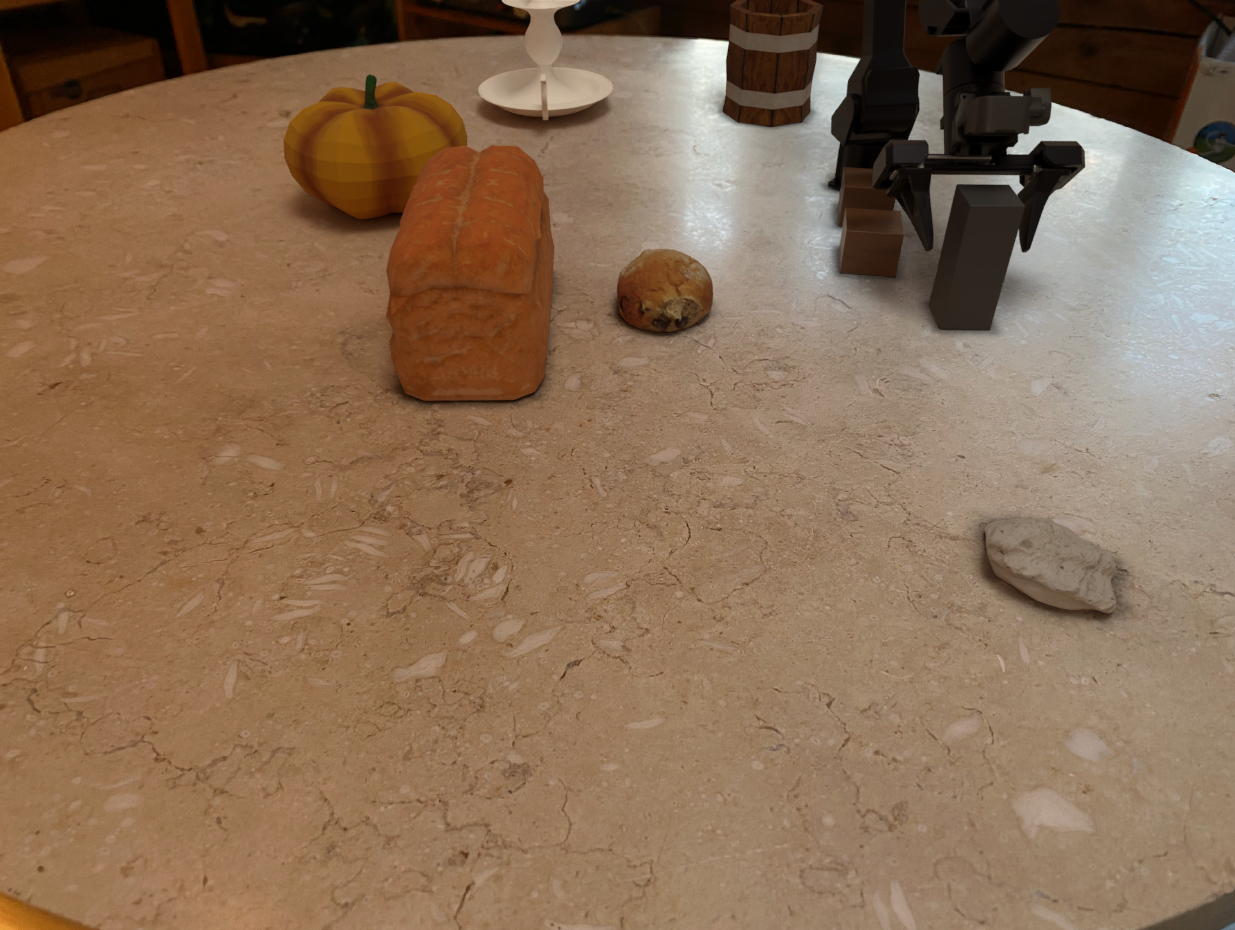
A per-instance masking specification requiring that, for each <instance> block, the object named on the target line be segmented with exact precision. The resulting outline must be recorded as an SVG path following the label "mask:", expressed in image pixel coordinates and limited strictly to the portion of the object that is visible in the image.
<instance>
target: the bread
mask: <svg viewBox="0 0 1235 930" xmlns="http://www.w3.org/2000/svg"><path fill="white" fill-rule="evenodd" d="M544 188H545V187H544V176H543V174H542V171H541V170H540V168H539V166H538V164H537V162H536V160H535V159H534V158H533V157H531V156H530V155H529V154H528V153H527V152H526V151H524V150H523V149H521V148H520V147H519V146H518V145H489V146H488V147H486V148H485V149H482V150H480V151H478V150H476V149H474V148H471V147H470V146H468V145H467V146H457V147H448V148H444V149H443V150H442V151H440V152H439V153H437V154H436V155H434V156H433V157H431V158H430V159H428V161H427V162H426V164H425V165H424V167H423V169H422V170H421V172H420V174H419V176H418V178H417V183H416V184H415V185H414V187H413V189H412V192H411V195H410V198H409V200H408V202H407V204H406V207H405V210H404V212H403V213H402V215H401V218H400V220H399V229H398V231H397V233H396V236H395V238H394V240H393V243H392V245H391V247H390V249H389V255H388V260H387V265H386V270H385V271H386V278H387V283H388V288H389V295H388V303H387V308H386V313H385V317H386V320H387V321H388V323H389V325H390V327H391V329H392V330H393V331H392V333H391V335H390V339H389V350H390V352H389V353H390V357H391V361H392V363H393V366H394V369H395V372H396V374H397V377H398V379H399V382H400V384H401V387H402V389H403V391H404V393H405V394H406V395H408V396H411V397H413V398H416V399H418V400H422V401H515V400H517V399H521V398H522V397H525V396H528V395H529V394H532V393H535V392H536V391H537V389H538V388H539V387H540V385H541V383H542V381H543V380H544V378H545V376H546V364H547V363H546V362H547V351H548V340H549V330H550V321H551V320H550V319H551V311H552V298H553V297H552V296H553V294H552V293H553V283H554V282H553V280H554V263H555V243H554V238H553V235H552V227H551V226H552V225H551V212H550V211H551V210H550V198H549V197H548V196H547V194H546V192H545V190H544Z"/></svg>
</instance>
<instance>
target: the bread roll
mask: <svg viewBox="0 0 1235 930" xmlns="http://www.w3.org/2000/svg"><path fill="white" fill-rule="evenodd" d="M617 279H618V280H617V285H616V299H617V308H618V313H619V315H620V316H621V317H622V318H623V320H624V321H625V322H627V324H628V325H631V326H632V327H634V328H637V329H642V330H646V331H650V332H651V331H652V332H656V333H661V332H665V333H666V332H667V333H671V332H676V331H681V330H684V329H687V328H690V327H692V326H693V325H695V324H696V323H698V322H699V321H701V320H703V319H704V318H705V317H706V316H707V314H709V312H711V310H712V306H713V301H714V283H713V280H712V277H711V275H710V273H709V271H708V269H707V268H706V267H705V265H703V264H702V263H701V262H700V261H699V260H697V259H696V258H694V257H692V256H691V255H689V254H686V253H685V252H683V251H681V250H680V251H679V250H676V249H670V248H655V249H652V248H651V249H643V250H642V252H641V253H640V255H638V256H636V257H635V258H634V259H633V260H632V261H630V263H628V264H627V265H626V266H624V267H623V269H622V270H621V271H620V272H619V275H618V278H617Z"/></svg>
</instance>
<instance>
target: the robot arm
mask: <svg viewBox="0 0 1235 930" xmlns="http://www.w3.org/2000/svg"><path fill="white" fill-rule="evenodd" d="M917 10H918V11H917V13H918V18H919V22H920V24H921V25H922V28H923V30H924V32H925V34H926V35H927V36H930V37H933V38H934V37H935V38H941V37H943V38H945V37H957V38H955V39H953V41H951V43H950V44H949V45H948V46H947V47H946V48H945V50H943V52H942V54H941V58H940V59H939V60H938V61H937V64H936V66H935V68H934V70H935V71H934V73H935V74H936V75H940V76H942V116H941V118H940V119H939V130H940V131H943V153H930V150H929V149H930V147H929V143H928V142H927V141H926V139H909V138H910V136H911V135H912V132H913V128H914V126H915V124H916V121H917V118H918V116H919V113H920V110H921V108H920V96H919V86H920V85H919V84H920V77H921V74H920V71H919V68H918V66H913V65H911V62H910V61H909V59H908V57H907V55H906V53H905V37H906V36H905V35H906V17H907V16H906V15H907V0H863V12H862V13H863V14H862V16H863V17H862V18H863V19H862V43H861V46H862V47H861V57H860V59H859V61H858V62H857V64H856V66H855V67H854V69H853V71H852V73H851V74H850V76H849V77H848V80H847V84H846V94H845V95H846V96H845V97H844V98H843V99H842V101H841V102H840V103H839V105H838V107H837V108H836V109H835V110H834V111H833V113H832V114H831V117H830V135H832V137H833V138H835V139H836V141H837V142H839V144H838V145H839V146H838V152H837V159H836V165H835V166H836V167H835V172H834V178H832V179H830V180H829V181H828V182H827V187H829V188H833V189H836V190H839V191H840V189H841V182H842V176H843V169H844V167H849V168H866V169H873V188H875V189H877V190H886V196H887V197H894V198H896V200H895V201H897V203H898V205H899V206H900V207H901V208H902V210H903V212H904V213H905V214H906V216H907V218H908V219H909V221H910V223H911V225H912V227H913V229H914V231H915V233H916V235H917V237H918V239H919V241H920V243H921V245H922V247H923V249H924V251H925V252H928V253H929V252H932V250H933V249H934V235H935V234H934V223H933V222H934V221H933V211H932V202H931V184H932V183H931V181H932V176H1019V177H1018V179H1019V184H1020V185H1021V186H1022V187H1023V188H1021V190H1019V192H1018V193H1016V195H1017V196H1018V197H1019V199H1020V200H1021V201H1022V203H1023V204H1024V205H1025V208H1024V212H1023V216H1022V219H1021V223H1020V226H1019V230H1018V240H1019V245H1020V249H1021V251H1020V252H1021V253H1023V254H1025V253H1028V252H1029V251H1030V249H1031V248H1032V244H1033V241H1034V239H1035V235H1036V233H1037V230H1038V228H1039V227H1038V226H1039V225H1040V224H1039V223H1040V221H1041V217H1042V214H1043V213H1044V212H1043V211H1044V210H1045V206H1046V204H1047V202H1048V200H1049V198H1050V196H1052V195H1053V194H1054V193H1055V192H1056V191H1058V190H1062V189H1063V188H1064V187H1065V186H1066V185H1068V184H1069V183H1070V182H1071V181H1072V180H1073V179H1074V178H1075V177H1076V176H1077V175H1078V174H1079V173H1080V172H1082V171H1083V170H1084V169H1085V168H1086V155H1085V154H1086V151H1085V149H1084V148H1083V146H1082V145H1081V144H1080V143H1079V142H1078V141H1077V140H1040V141H1039V142H1038V143H1037V145H1036V146H1035V147H1033V149H1032V150H1031V151H1030V152H1029V153H1028V154H1027V153H1026V154H1025V153H1024V154H1023V153H1022V154H1019V153H1016V154H1015V153H1012V154H1011V153H1008V148H1014V147H1015V146H1016V145H1017V144H1018V143H1019V135H1021V134H1022V135H1029V134H1030V127H1041V126H1045V125H1047V124H1048V123H1049V122H1050V119H1051V117H1052V107H1053V101H1052V93H1051V92H1052V91H1051V87H1031V88H1029V89H1026V90H1024V91H1023V93H1022V95H1011V91H1006V83H1005V82H1006V80H1005V79H1006V77H1005V75H1006V74H1005V72H1008V71H1011V70H1013V69H1014V68H1016V67H1018V65H1020V64H1021V63H1022V62H1023V61H1024V60H1025V59H1026V58H1027V57H1028V56H1029V55H1030V54H1031V53H1032V52H1033V51H1034V50H1035V49H1036V48H1037V47H1038V46H1039V45H1040V44H1041V43H1042V42H1043V41H1044V40H1045V39H1046V38H1047V37H1048V36H1049V35H1050V34H1051V33H1052V32H1053V31H1054V30H1055V29H1056V27H1057V25H1058V24H1059V20H1060V17H1061V6H1060V2H1059V0H918V9H917Z"/></svg>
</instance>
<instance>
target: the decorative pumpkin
mask: <svg viewBox="0 0 1235 930" xmlns="http://www.w3.org/2000/svg"><path fill="white" fill-rule="evenodd" d="M377 83H378V79H377V76H375V75H374V74H373V75H372V74H367V75H366V77H365V84H364V87H365V88H364V90H362V89H358V88H354V87H347V86H338V87H331V88H330V89H329V90H328V92H326V94H324V95H323V96H322V98H321V99H319V101H318V102H316V103H314V104H311V105H309V106H307V107H304V108H302V109H301V110H300V111H299V112H298V113H297V114H296V115H295V116H294V117H293V118H292V119H291V120H290V122H289V123H288V126H287V129H286V131H285V134H284V137H283V139H282V140H283V157H284V160H285V163H286V166H287V168H288V170H289V173H290V175H291V177H292V178H293V179H294V180H295V182H296V183H297V184H298V185H299V186H300V188H302V190H303V191H304V192H305V193H307V194H308V195H310V196H312V197H313V198H314V199H317V200H318V201H320V202H322V203H324V204H325V205H327V206H330V207H336V208H337V209H339V210H340V211H342V212H344V213H345V214H347V215H349V216H351V217H353V218H356V219H358V220H369V219H370V220H371V219H376V218H380V217H381V218H382V217H383V216H385V215H389V214H392V213H393V214H403V212H404V210H405V207H406V204H407V202H408V200H409V198H410V195H411V192H412V189H413V187H414V185H415V184H416V183H417V178H418V176H419V174H420V172H421V170H422V169H423V167H424V165H425V164H426V162H427V161H428V159H430V158H431V157H433V156H434V155H436V154H437V153H439V152H440V151H442V150H443V149H444V148H448V147H457V146H467V147H468V134H467V130H466V126H465V124H464V123H465V122H464V119H463V118H462V117H461V115H460V113H459V112H458V111H457V109H456V108H455V107H454V106H453V105H452V104H451V103H450V102H448V101H446V100H445V99H443V98H442V97H441V96H438V95H437V94H433V93H427V92H421V91H413V90H412V89H410V88H408V87H407V86H405V85H404V84H401V83H399V82H397V81H387V82H384V83H382V84H379V85H377Z"/></svg>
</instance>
